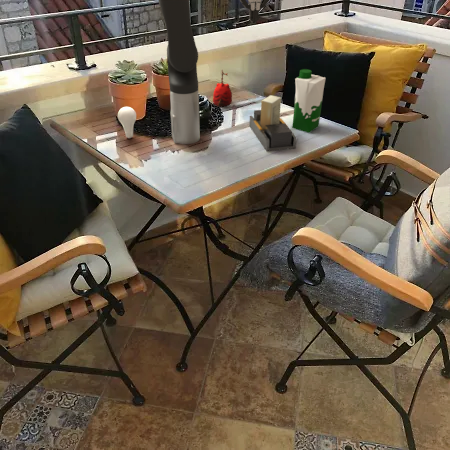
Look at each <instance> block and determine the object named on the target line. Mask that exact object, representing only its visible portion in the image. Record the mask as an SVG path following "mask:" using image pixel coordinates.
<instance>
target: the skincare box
mask: <svg viewBox="0 0 450 450" xmlns="http://www.w3.org/2000/svg"><path fill="white" fill-rule="evenodd" d="M281 102H282V98H281V97H280V96H276V95H271V94H269V95H268V96H267V97H264V99H262V100H261V102H260V103H261V104H260V107H261V108H260V110H261V124H260V127H261V128H262V130H263V132H264V130H265V125H272V124H279V121H280V118H281Z"/></svg>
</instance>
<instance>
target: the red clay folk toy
mask: <svg viewBox="0 0 450 450" xmlns="http://www.w3.org/2000/svg"><path fill="white" fill-rule="evenodd" d="M220 71H221V77H220V79H221V82H218V83H216V85H215V86H216V87H214V90H213V94H212V95H213V97H212V102H213V104H214V106H216V108H217V107H218V108H227V107H230V106H231V105H232V102H233V93H232V90H231V88H230V85H229V83H224V81H223V80H224V78H223V77H224V75H225V76H227V77H228V73H224V70H223V69H221V70H220Z"/></svg>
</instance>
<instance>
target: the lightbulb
mask: <svg viewBox="0 0 450 450" xmlns="http://www.w3.org/2000/svg"><path fill="white" fill-rule="evenodd" d="M117 119H118V121H119V122H120V124H121V125H122V127H123V131H124V132H125V138H128V139H131V138H133V136H134V124H135V122H136V120H137V112H136V110H134V109H133V108H132V107H130V106H123V107H121V108H120V109H119V111H118V113H117Z"/></svg>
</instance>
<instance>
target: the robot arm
mask: <svg viewBox="0 0 450 450" xmlns="http://www.w3.org/2000/svg"><path fill="white" fill-rule="evenodd" d="M239 1H240V3H241V4H242V6H243V7H244V8H245V9H247V10H248V12H249V13H248V19H249V21H250V22H251V23H252V24H255V23H257V22H258V21H259V17H260V10H262V9H265V7H266V6H267V5H268V3H269V2H270V0H239ZM247 1H248V2H247ZM158 4H159V7H160V11H161V14H162V17H163V21H164V24H165V27H166V36H167V46H166V47H167V48H166V60H167V73H168V83H169V98H170V110H169V112H170V113H169V114H170V122H171V125H170V126H171V127H170V129H171V137H172V138H171V139H172V140H173V143H174V144H181V145H190V144H195V143H197V142H199V141H200V138H201V135H200V131H201V130H200V129H201V128H200V103H199V102H200V100H199V96H200V95H199V94H200V93H199V79H198V68H197V67H198V66H197V65H198V61H199V51H198V48H197V45H196V41H195V37H194V32H193V29H192V23H191V14H190V13H191V10H190V0H158Z"/></svg>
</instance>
